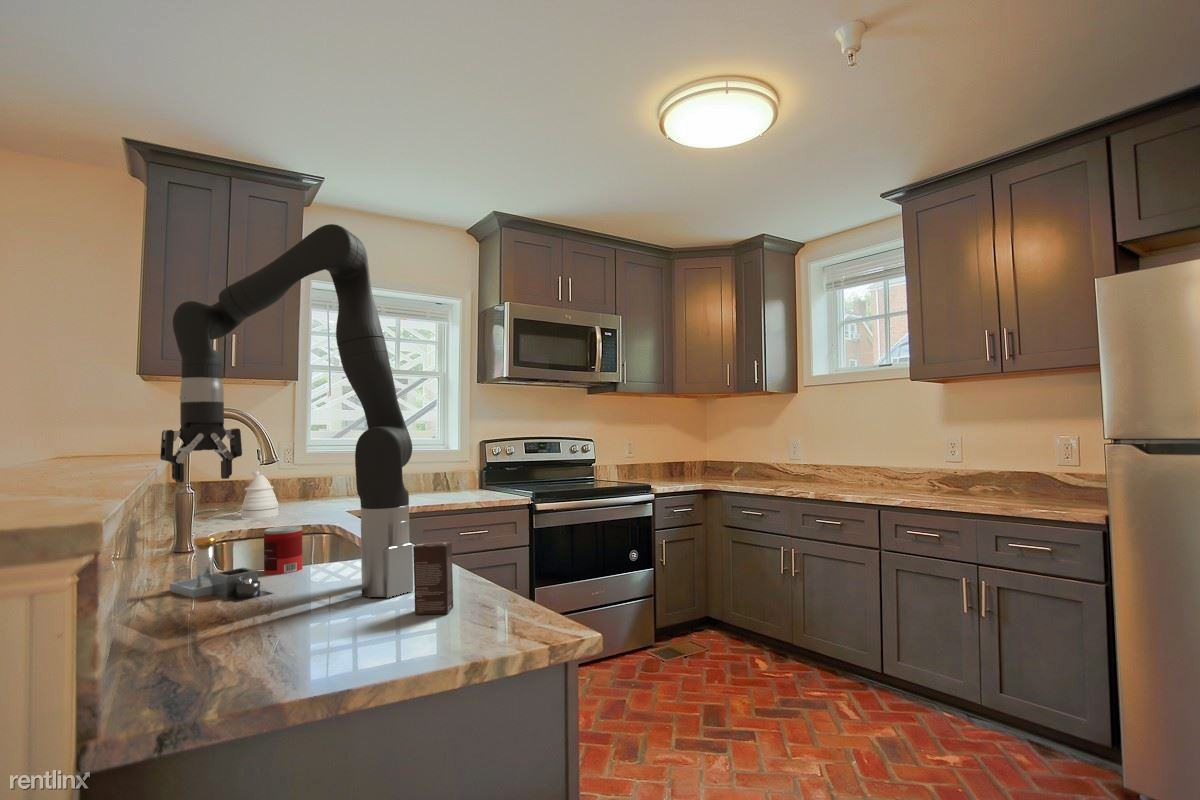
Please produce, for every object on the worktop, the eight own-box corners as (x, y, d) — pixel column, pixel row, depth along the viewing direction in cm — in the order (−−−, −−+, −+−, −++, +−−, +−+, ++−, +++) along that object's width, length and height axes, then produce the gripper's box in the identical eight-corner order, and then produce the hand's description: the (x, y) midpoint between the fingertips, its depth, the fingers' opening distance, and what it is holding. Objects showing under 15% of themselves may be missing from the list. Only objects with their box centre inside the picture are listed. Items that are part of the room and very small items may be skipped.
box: (454, 607, 114) (452, 540, 114) (447, 614, 109) (446, 545, 110) (420, 608, 114) (419, 541, 114) (413, 615, 109) (412, 546, 110)
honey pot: (233, 519, 242) (233, 473, 243) (260, 514, 254) (260, 470, 255) (260, 520, 238) (259, 472, 239) (286, 515, 251) (285, 470, 252)
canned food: (308, 572, 146) (307, 524, 146) (292, 580, 138) (292, 530, 138) (275, 573, 145) (274, 526, 146) (257, 582, 137) (257, 531, 138)
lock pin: (219, 593, 127) (219, 537, 127) (199, 597, 124) (199, 540, 124) (210, 590, 129) (210, 536, 129) (190, 595, 126) (190, 538, 126)
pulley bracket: (273, 601, 121) (273, 572, 121) (236, 610, 116) (235, 580, 116) (245, 593, 127) (245, 566, 128) (208, 602, 122) (208, 573, 122)
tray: (237, 595, 127) (237, 580, 127) (192, 605, 120) (192, 589, 120) (213, 588, 132) (213, 574, 132) (169, 598, 126) (169, 583, 126)
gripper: (170, 399, 120) (171, 484, 119) (247, 400, 131) (248, 477, 131) (154, 401, 124) (155, 483, 123) (230, 402, 136) (231, 477, 135)
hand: (203, 480), depth 127 cm, fingers open, 8 cm apart
